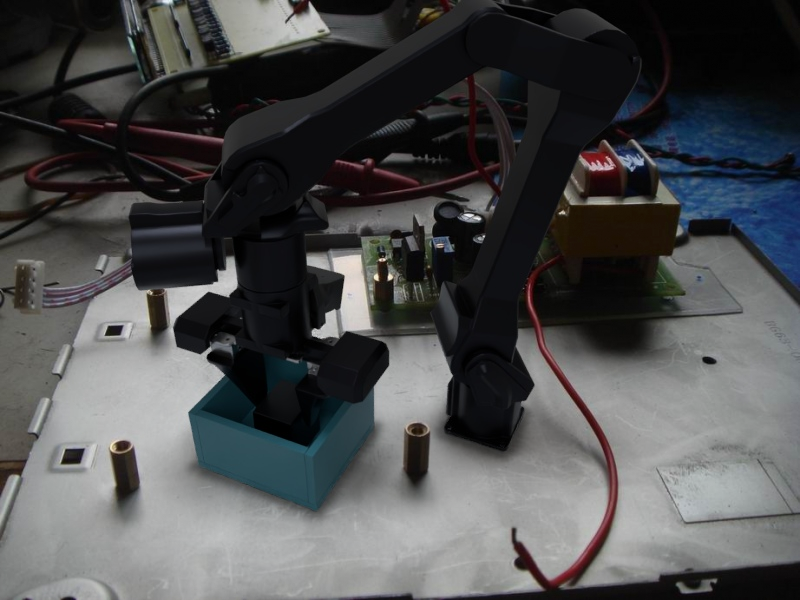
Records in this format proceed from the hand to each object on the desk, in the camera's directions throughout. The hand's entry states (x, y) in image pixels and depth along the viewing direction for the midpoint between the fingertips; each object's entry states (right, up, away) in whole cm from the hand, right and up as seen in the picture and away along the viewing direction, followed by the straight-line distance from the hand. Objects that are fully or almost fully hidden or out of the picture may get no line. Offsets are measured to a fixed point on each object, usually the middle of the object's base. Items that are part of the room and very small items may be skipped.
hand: (286, 415), depth 70 cm
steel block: (0, -3, +2) cm, 3 cm away
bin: (0, -3, +2) cm, 4 cm away
